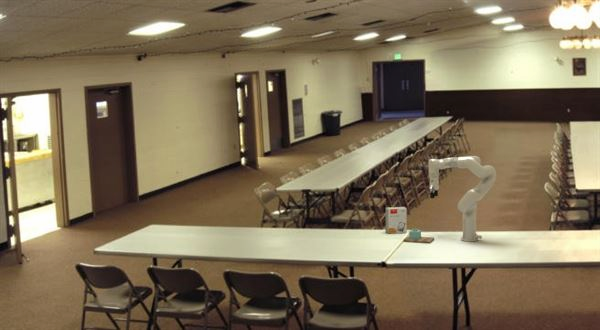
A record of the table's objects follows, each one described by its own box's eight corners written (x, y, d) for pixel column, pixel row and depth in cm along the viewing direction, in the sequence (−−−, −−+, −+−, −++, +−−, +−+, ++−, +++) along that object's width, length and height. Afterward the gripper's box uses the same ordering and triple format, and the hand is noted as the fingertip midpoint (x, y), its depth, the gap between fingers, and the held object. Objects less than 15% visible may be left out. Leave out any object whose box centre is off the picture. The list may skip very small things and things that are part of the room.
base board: (434, 239, 539) (434, 232, 538) (429, 243, 526) (429, 236, 526) (408, 237, 547) (408, 230, 547) (403, 241, 535) (403, 234, 534)
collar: (421, 237, 540) (420, 229, 539) (418, 239, 533) (418, 231, 533) (412, 237, 543) (411, 229, 542) (409, 239, 536) (409, 231, 536)
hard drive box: (387, 234, 563) (387, 209, 561) (385, 232, 571) (385, 207, 569) (407, 232, 565) (406, 208, 563) (404, 230, 573) (403, 206, 571)
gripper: (435, 176, 536) (436, 199, 538) (441, 173, 551) (441, 195, 553) (425, 176, 539) (426, 198, 541) (431, 173, 555) (432, 195, 557)
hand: (434, 197), depth 547 cm, fingers open, 9 cm apart
